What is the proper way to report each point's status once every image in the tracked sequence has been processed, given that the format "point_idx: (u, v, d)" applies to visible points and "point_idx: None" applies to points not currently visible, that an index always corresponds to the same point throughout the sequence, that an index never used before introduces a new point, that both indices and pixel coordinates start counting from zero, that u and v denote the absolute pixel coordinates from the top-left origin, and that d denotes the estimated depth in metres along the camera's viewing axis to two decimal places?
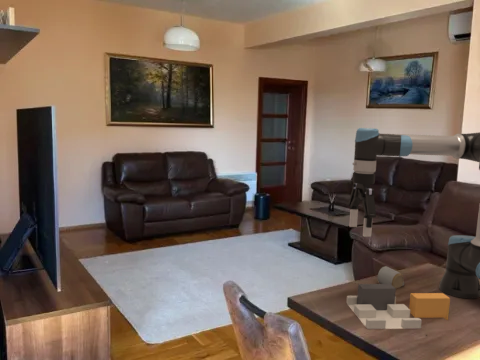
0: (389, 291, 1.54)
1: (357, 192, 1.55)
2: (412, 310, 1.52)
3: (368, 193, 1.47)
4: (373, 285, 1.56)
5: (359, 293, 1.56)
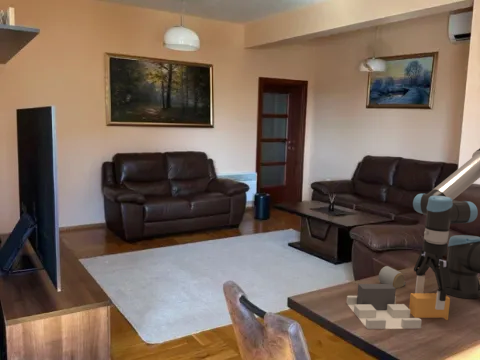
0: (389, 291, 1.54)
1: (427, 261, 1.51)
2: (412, 310, 1.52)
3: (442, 265, 1.43)
4: (373, 285, 1.56)
5: (359, 293, 1.56)
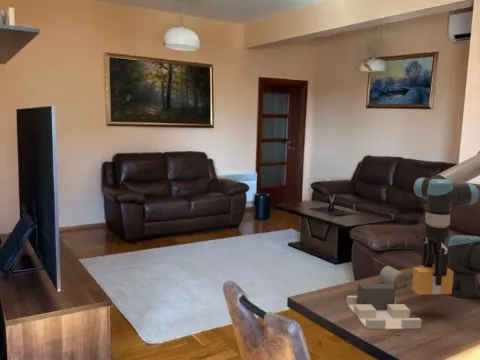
0: (389, 291, 1.54)
1: (430, 245, 1.50)
2: (415, 284, 1.51)
3: (443, 253, 1.43)
4: (373, 285, 1.56)
5: (359, 293, 1.56)
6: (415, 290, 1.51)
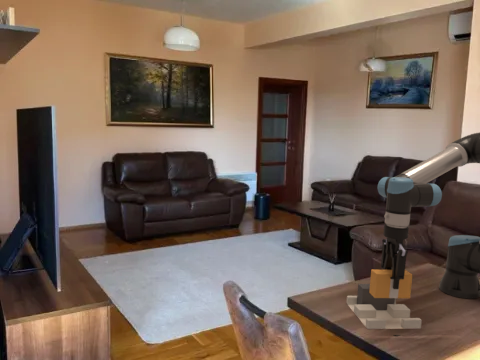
0: None
1: (389, 246, 1.43)
2: (372, 287, 1.43)
3: (401, 255, 1.36)
4: None
5: (359, 293, 1.56)
6: (372, 293, 1.43)
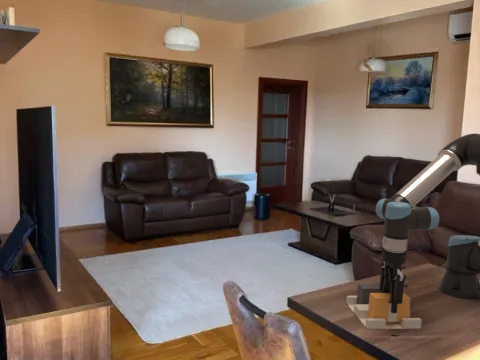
0: None
1: (387, 270, 1.44)
2: (371, 311, 1.44)
3: (398, 280, 1.37)
4: (373, 285, 1.56)
5: (359, 293, 1.56)
6: (370, 317, 1.44)
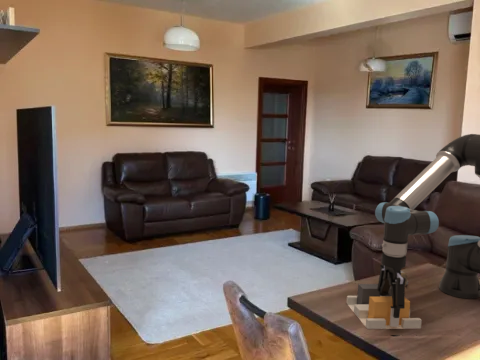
0: (389, 291, 1.54)
1: (386, 274, 1.44)
2: (371, 314, 1.44)
3: (399, 283, 1.37)
4: (373, 285, 1.56)
5: (359, 293, 1.56)
6: None
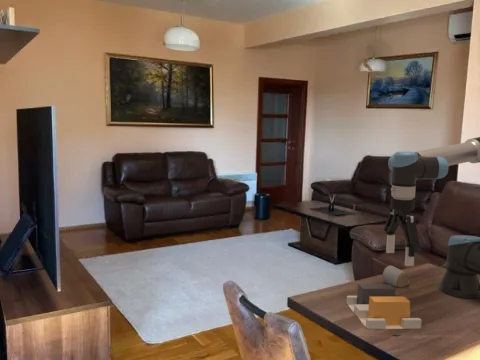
0: (389, 291, 1.54)
1: (395, 218, 1.49)
2: (371, 314, 1.44)
3: (410, 221, 1.41)
4: (373, 285, 1.56)
5: (359, 293, 1.56)
6: None
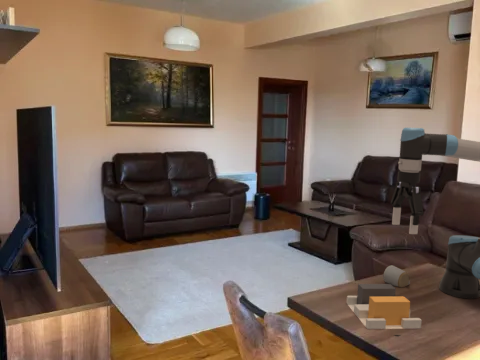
0: (389, 291, 1.54)
1: (402, 190, 1.58)
2: (371, 314, 1.44)
3: (415, 191, 1.50)
4: (373, 285, 1.56)
5: (359, 293, 1.56)
6: None
